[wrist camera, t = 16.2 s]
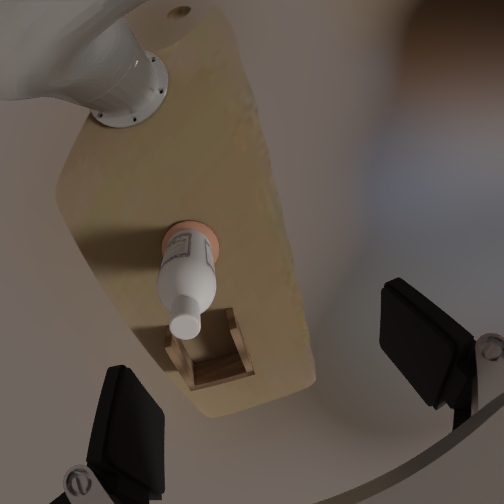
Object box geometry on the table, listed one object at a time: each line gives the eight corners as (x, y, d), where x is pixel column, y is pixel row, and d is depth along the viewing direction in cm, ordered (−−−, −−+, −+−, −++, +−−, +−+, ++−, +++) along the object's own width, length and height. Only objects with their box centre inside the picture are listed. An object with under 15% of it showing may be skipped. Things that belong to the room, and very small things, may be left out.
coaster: (153, 231, 41) (153, 232, 40) (209, 212, 41) (209, 213, 41) (173, 281, 44) (173, 283, 43) (225, 265, 45) (226, 266, 44)
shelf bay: (166, 326, 47) (164, 347, 41) (232, 307, 48) (236, 327, 42) (190, 369, 51) (191, 391, 46) (249, 353, 52) (254, 374, 47)
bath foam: (159, 259, 42) (137, 340, 23) (178, 220, 40) (162, 282, 22) (199, 276, 44) (203, 364, 26) (219, 239, 42) (236, 312, 24)
